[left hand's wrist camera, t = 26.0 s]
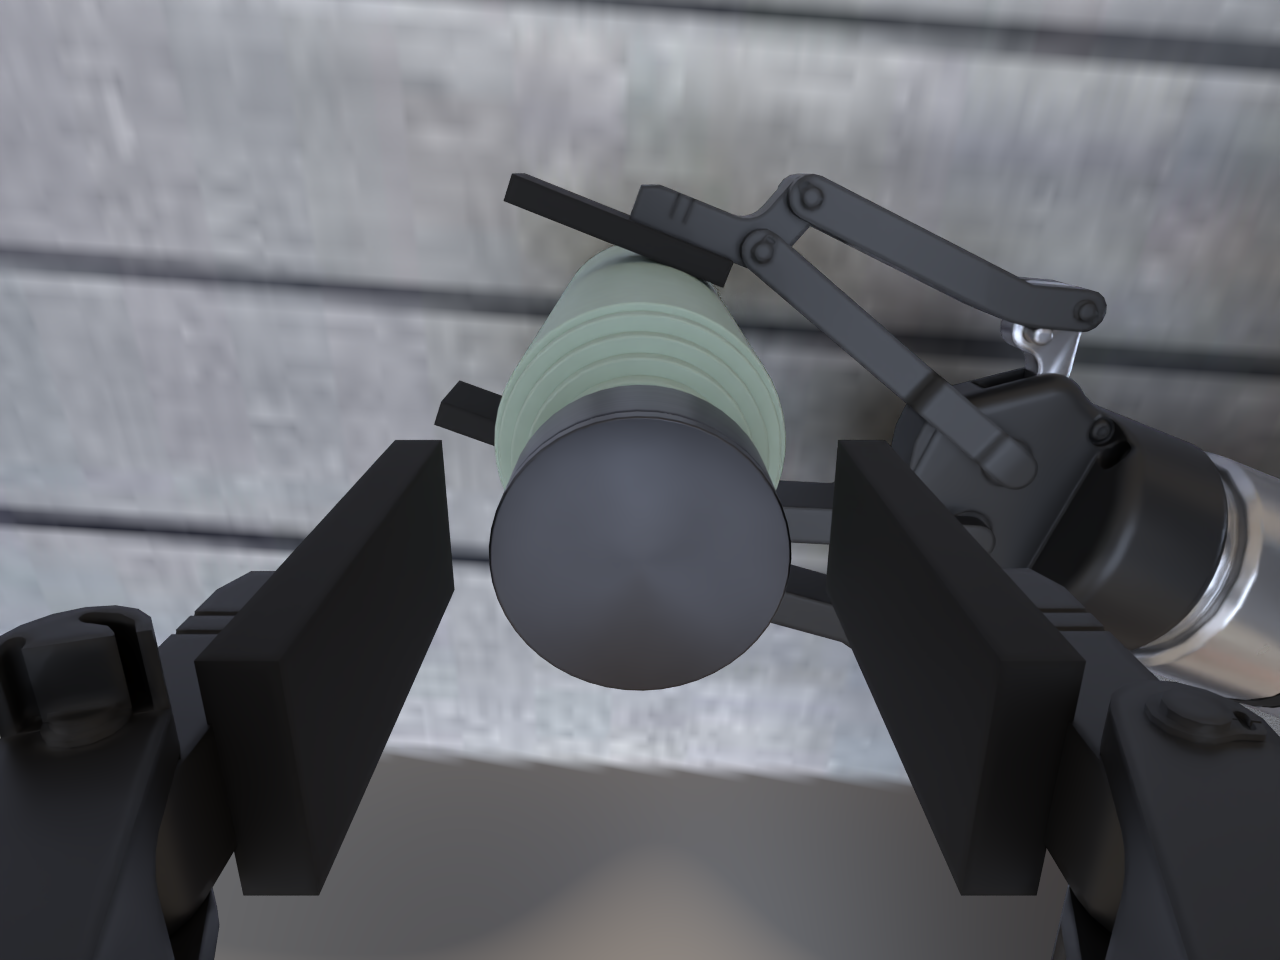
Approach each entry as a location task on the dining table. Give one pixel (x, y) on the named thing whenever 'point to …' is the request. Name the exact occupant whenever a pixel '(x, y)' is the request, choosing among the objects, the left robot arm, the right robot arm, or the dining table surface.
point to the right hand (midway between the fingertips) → (480, 299)
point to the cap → (640, 540)
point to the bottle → (639, 354)
